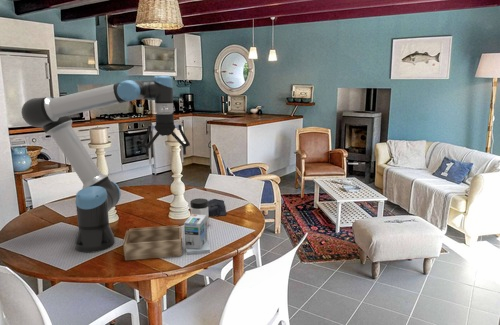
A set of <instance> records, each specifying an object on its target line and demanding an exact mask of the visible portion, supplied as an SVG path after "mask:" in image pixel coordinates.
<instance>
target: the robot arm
mask: <svg viewBox="0 0 500 325" xmlns="http://www.w3.org/2000/svg"><path fill="white" fill-rule="evenodd" d="M137 100H154V109H155V110H154V112H155V113H156V114H155V116H154V117H155V124H154V125H151V124H149V125H148V128H147V131H146V134H145V136H144V138H143V141H142V142H141V144H140V147H141V148H143V149H145V156H146V157H148V162H149V163H148V164H149V165H152V150H151V149H152V148H151V146H152V144H153V143H154V142H155V141H156V140H157V138H158V137H159V136H162V137H163V136H168V137H169V136H171V135H172V137H173V138H174V139H175V140H176V141H177V142H178V143H179V144H180V146H181V147H180V149H181V150H180V151H181V152H180V154H181V163H182V164H183V163H184V156H185V155H186V154H187V147H190V145H191V144H190V142H189V140H188V138H187V136H186V134H185V133H184V131H183V128H182V124H181V123H179V124H175V115H174V114H173V113H174V87H173V79H172V77H171V76H169V75H155V76H154V77H153V80H130V79H127V80H126V79H125V80H123V81H121V82H117V83H112V84H109V85H104V86H99V87H96V88H95V87H94V88H91V89H88V90H82V91H77V92H75V93H74V92H73V93H71V94H66V95H62V96H58V97H54V96H44V97H33V98H31V99H28V100H27V101H25V103H23V105H22V107H21V116H22V118H23V121H24V122H25V123H27V124H28V125H29V126H31V127H34V128H42V129H43V131H44V133H45V135H49V136H51V137H52V138H53V139H54V141H55V143H56V144H57V146H58V147H59V149H60V151H61V152H62V153H63V155H64V157H65V158H66V160H67V161H68V163H69V165H70V166H71V168H73V170H74V173H76V175H77V176H78V178H79V180H80V181H81V182H82V184H83V185H82V187H81V189H80V190H78V191H77V192H76V194H75V205H76V206H75V207H76V215H77V216H76V218H77V224H78V226H77V227H78V228H77V234H76V236H75V243H74V244H75V245H74V247H75V249H76V251H78V252H81V253H96V252H100V251H104V250H107V249H110V248H112V247H113V245H115V244H116V239H115V234H114V233H113V230H112V228H111V226H110V219H109V218H110V217H109V212H110V211H111V210H112V209H113V208H114V207H115V206H117V205H118V203H119V201H120V199H121V196H122V193H121V189H120V187H119V185H118V184H117V183H116V182H114V181H111V179H110V178H109V176H108V175H106V174H103V173H101V171H100V169H99V168H98V165H97V164H96V163H95V161H94V160H93V158H92V156H91V155H90V153H89V152H88V150H87V148H86V147H85V146H84V144H83V142H82V141H81V140H80V138H79V136H78V134H77V133H76V131H75V130H74V128H73V127H72V124H73V120H72V118H71V116H72V115H77V114H81V113H85V112H89V111H93V110H97V109H102V108H105V107H110V106H115V105H117V104H118V105H119V104H123V103H128V102H132V101H137ZM175 129H176V130H178V131H179V133H180V135H181V137H182V138H183V140H184V142H185V143H184V142H183V141H182V139H181V138H180V137H179V135H177V134H176V133H175ZM154 130H155V131H156V133H155V134H154V136H153V137H152V138H151V139H150V141H149V142H148V143H147V141H148V139H149V136H150V135H151V132H152V131H154ZM146 143H147V144H146Z"/></svg>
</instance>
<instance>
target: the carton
mask: <svg viewBox="0 0 500 325" xmlns="http://www.w3.org/2000/svg"><path fill="white" fill-rule="evenodd" d="M182 233H183V231H182V226H179V225H166V226H165V225H164V226H162V225H161V226H150V227H136V228H129V230H126V231H125V234H124V235H125V236H124V238H123V241H122V245H123V246H122V248H123V256H124V260H125V261H135V260H144V259H145V260H147V259H158V258H169V257H181V256H182V254H183V253H182V251H184V250H183V248H184V247H183V234H182Z"/></svg>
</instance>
